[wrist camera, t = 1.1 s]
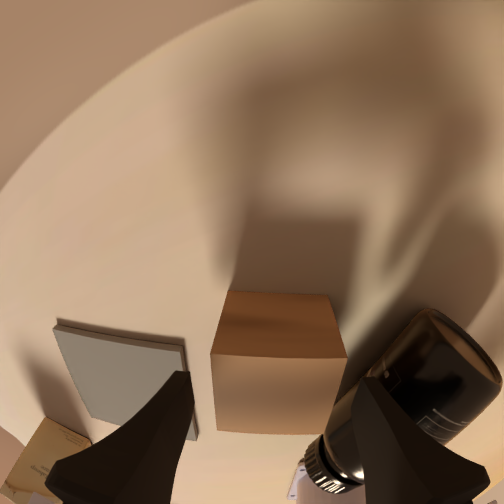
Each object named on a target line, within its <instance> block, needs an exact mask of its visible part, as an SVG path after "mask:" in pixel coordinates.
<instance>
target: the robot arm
mask: <svg viewBox="0 0 504 504" xmlns="http://www.w3.org/2000/svg"><path fill="white" fill-rule="evenodd" d="M194 404H195V401H194V395H193V389H192V383H191V376H190V372H186V371H178V370H176V371H174V372H173V373H172V375H171V376H170V377H169V378H168V380H167V381H166V382H165V383H164V385H163V386H162V387H161V388H160V389H159V390H158V392H157V393H156V394H155V395H154V396H153V397H152V398H151V399H150V400H149V401H148V402H147V403H146V404H145V405H144V406H143V407H142V408H141V409H140V410H139V411H138V412H137V413H136V414H135V415H134V416H133V417H132V418H131V419H129V420H128V421H127V422H126V423H125V424H123V425H122V426H121V427H120V428H118V429H117V430H116V431H114V432H113V433H111V434H110V435H108V436H107V437H105V438H104V439H102V440H101V441H99V442H97V443H95V444H93V445H92V446H90V447H88V448H86V449H84V450H82V451H80V452H78V453H75V454H73V455H70V456H68V457H65V458H63V459H60V460H57V461H56V462H55V464H54V465H53V466H52V468H51V470H50V472H49V474H48V476H47V478H46V480H45V482H44V484H45V486H46V488H47V489H48V490H49V491H51V492H52V493H53V494H54V495H55V496H56V497H58V498H59V499H60V500H61V501H63V503H62V504H170V501H171V495H172V489H173V483H174V478H175V473H176V468H177V465H178V461H179V458H180V455H181V452H182V449H183V446H184V443H185V440H186V437H187V434H188V431H189V428H190V424H191V420H192V415H193V410H194ZM351 417H352V425H353V430H354V434H355V438H356V443H357V447H358V451H359V455H360V459H361V463H362V468H363V473H364V483H365V484H364V485H363V486H361V487H358V488H355V489H353V490H351V491H349V492H347V493H342V494H333V493H328V492H326V491H323V490H322V489H321V488H319V487H317V485H316V484H314V483H313V482H312V480H311V479H310V478H309V475H308V474H307V472H306V468H305V466H304V465H305V463H304V462H301V463H299V464H298V466H297V469H296V472H295V475H294V478H293V481H292V484H291V487H290V489H289V492H288V495H287V499H288V500H296V504H473V502H472V499H474V498H475V497H476V496H477V495H479V494H480V493H481V492H482V491H484V490H485V489H486V488H487V487H488V486H489V484H490V479H489V476H488V474H487V471H486V469H485V467H484V466H482V465H479V464H477V463H474V462H472V461H470V460H467V459H465V458H463V457H462V456H460V455H458V454H456V453H454V452H453V451H451V450H449V449H448V448H446V447H445V446H443V445H442V444H440V443H439V442H437V441H436V440H435V439H433V438H432V437H431V436H430V435H428V434H427V433H426V432H425V431H424V430H422V429H421V428H420V427H419V426H418V425H417V424H416V423H415V422H414V421H413V420H412V419H411V418H410V417H409V416H408V415H407V414H406V413H405V412H404V411H403V409H402V408H401V407H400V406H399V405H398V404H397V403H396V402H395V400H394V399H393V398H392V397H391V396H390V394H389V393H388V392H387V391H386V390H385V388H384V387H383V386H382V385H381V383H380V382H379V381H378V380H377V379H376V377H375V376H370V377H361V380H360V383H359V385H358V388H357V391H356V394H355V396H354V399H353V402H352V404H351ZM28 504H56V503H54V502H53V501H51V500H49V499H47V498H45V497H44V496H42V495H40V494H38V493H37V492H33V494H32V496H31V498H30V500H29V502H28ZM488 504H497V501H496V500H493V501H492V502H490V503H488Z"/></svg>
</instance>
